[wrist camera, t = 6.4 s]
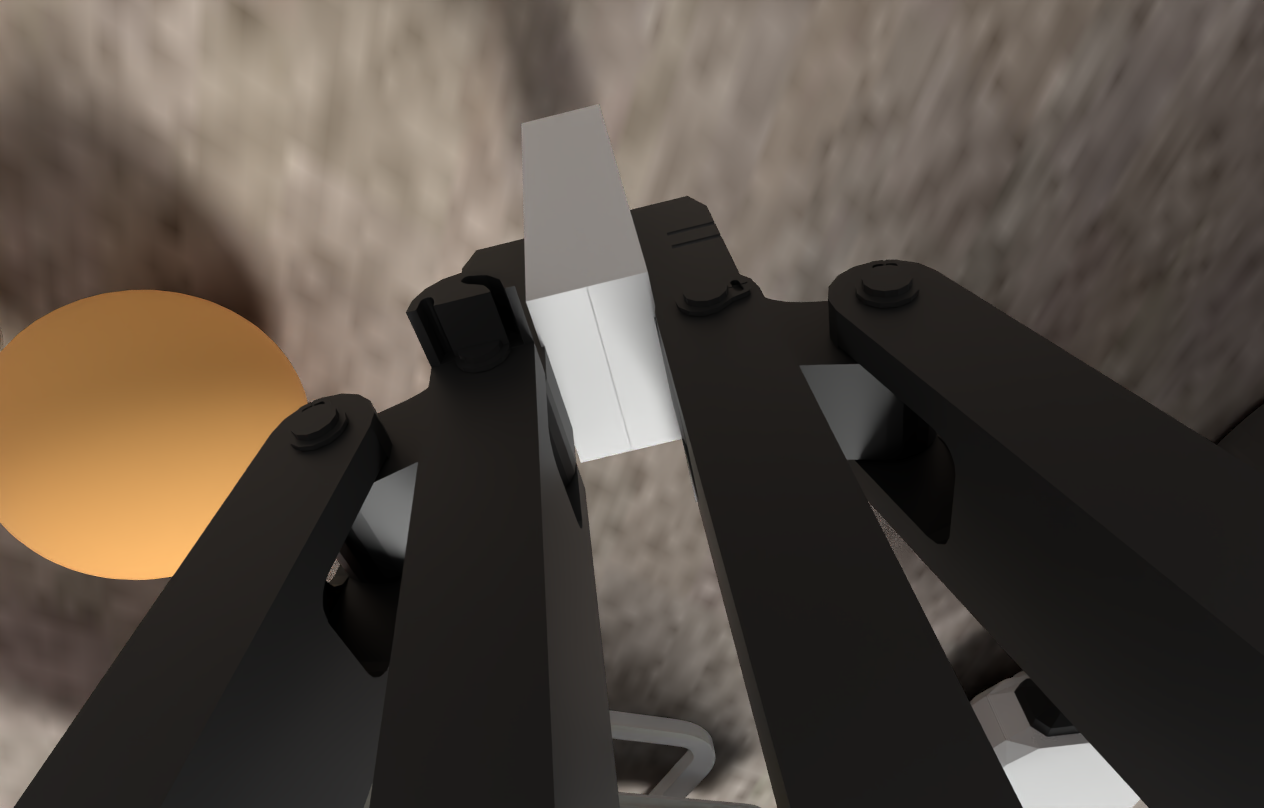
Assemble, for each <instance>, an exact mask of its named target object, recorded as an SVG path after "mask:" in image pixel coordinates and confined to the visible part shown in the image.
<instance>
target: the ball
mask: <svg viewBox="0 0 1264 808" xmlns="http://www.w3.org/2000/svg"><path fill="white" fill-rule="evenodd" d="M306 404H308V402H307V398H306V395H305V392H304V389H303V387H302V384H301V382H300V379H299V377H298V375H297V373H296V372H295V370H294V368H293V367H292V365H291V363H290V361H289V360H288V358H287V357H286V356H285V355H284V353H283V352H282V351H281V350H280V348H279V347H278V346H277V345H276V344H275V343H274V342H273V341H272V340H271V339H270V338H269V337H268V336H267V335H266V334H265V333H264V332H263V331H261V330H260V329H259V328H258V327H257V326H255V325H254V324H253V323H251V322H250V321H248V320H246V319H245V318H243V317H242V316H240V315H238V314H237V313H235V312H233V311H231V310H229V309H227V308H225V307H222V306H220V305H218V304H216V303H213V302H211V301H208V300H205V299H202V298H198V297H194V296H190V295H186V294H182V293H177V292H169V291H160V290H126V291H118V292H111V293H103V294H99V295H95V296H92V297H88V298H84V299H81V300H78V301H75V302H73V303H70V304H68V305H65V306H63V307H60V308H58V309H56V310H54V311H52V312H50V313H49V314H47V315H45V316H43V317H41V318H40V319H38V320H36V321H35V322H33V323H32V324H31V325H29V326H28V327H27V328H25V329H24V330H23V331H21V332H20V333H19V334H18V335H17V336H16V337H15V338H14V339H13V340H12V341H11V342H10V343H9V344H8V345H7V346H6V347H5V348H4V349H3V350H2V351H1V352H0V523H1V524H2V525H3V526H4V527H5V528H6V529H7V530H8V532H9V533H11V534H12V535H13V536H14V537H15V538H16V539H18V540H19V541H20V542H22V543H23V544H24V545H26V546H27V547H28V548H30V549H31V550H33V551H34V552H36V553H37V554H39V555H41V556H42V557H44V558H46V559H48V560H50V561H52V562H54V563H56V564H59V565H61V566H64V567H66V568H69V569H72V570H75V571H78V572H81V573H85V574H89V575H93V576H98V577H104V578H112V579H127V580H148V579H158V578H166V577H172V576H173V575H174V574H175V572H176V571H177V569H178V568H179V566H180V565H181V564H182V562H183V561H184V559H185V558H186V556H187V555H188V553H189V552H190V550H191V549H192V548H193V546H194V545H195V543H196V542H197V540H198V539H199V537H200V536H201V534H202V533H203V532H204V530H205V529H206V527H207V526H208V524H209V523H210V521H211V520H212V518H213V517H214V516H215V514H216V513H217V511H218V510H219V508H220V507H221V505H222V504H223V503H224V501H225V500H226V498H227V497H228V495H229V494H230V492H231V491H232V489H233V488H234V487H235V485H236V484H237V482H238V481H239V479H240V478H241V476H242V475H243V473H244V472H245V471H246V469H247V468H248V466H249V465H250V463H251V462H252V460H253V459H254V457H255V456H256V455H257V453H258V452H259V450H260V449H261V447H262V446H263V444H264V443H265V441H266V440H267V439H268V437H269V436H270V434H271V433H272V432H273V431H274V430H275V429H276V428H277V426H278V425H279V424H280V423H281V422H282V421H283V420H284V419H285V418H287V417H288V416H290V415H291V414H292V413H294V412H295V411H297V410H298V409H299V408H300V407H302V406H304V405H306Z"/></svg>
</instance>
